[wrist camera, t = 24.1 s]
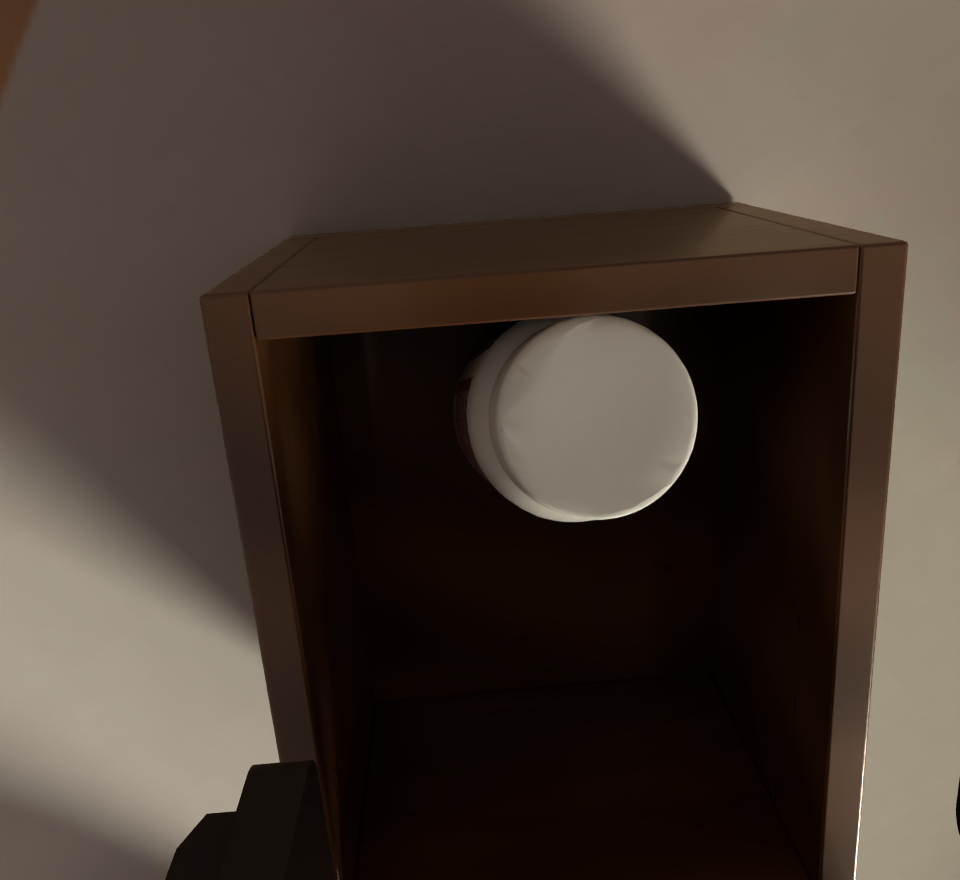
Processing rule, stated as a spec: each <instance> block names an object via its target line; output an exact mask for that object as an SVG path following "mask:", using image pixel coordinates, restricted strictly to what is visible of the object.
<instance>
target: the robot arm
mask: <svg viewBox="0 0 960 880" xmlns="http://www.w3.org/2000/svg"><path fill="white" fill-rule="evenodd" d="M956 819H957V826H958V830H959V834H960V780H959V788H958V796H957V804H956ZM165 880H333V866H332V857H331V850H330V844H329V838H328V831H327V825H326V818H325V812H324V806H323V799H322V793H321V787H320V780H319V774H318V770H317V766H316V763H315V762H314V760H306V761H294V762H282V763H270V764H258V765H252V767H251V768H250V770H249V772H248V774H247V778H246V781H245V784H244V787H243V791H242V794H241V797H240V800H239V804H238V807H237V810H236V811H235V812H223V813H211V814H206V815H205V816H204V818H203V819H202V820H201V821H200V822H199V823H198V825H197V826H196V827H195V828H194V829H193V830H192V832H191V833H190V834H189V835H188V836H187V837H186V838H185V840H184V841H183V842H182V843H181V844H180V845H179V847H178V848H177V849H176V852H175V854H174V857H173V860H172V862H171V865H170V868H169V871H168V873H167V876H166V879H165Z"/></svg>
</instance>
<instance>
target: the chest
mask: <svg viewBox="0 0 960 880" xmlns="http://www.w3.org/2000/svg"><path fill="white" fill-rule="evenodd" d="M907 252H908V243H907V242H906V241H903V240H898V239H894V238H889V237H885V236H881V235H876V234H872V233H868V232H863V231H859V230H855V229H850V228H846V227H842V226H837V225H833V224H829V223H824V222H820V221H816V220H811V219H807V218H802V217H798V216H794V215H789V214H785V213H781V212H776V211H772V210H768V209H763V208H759V207H755V206H750V205H747V204H743V203H738V202H734V203H721V204H708V205H695V206H682V207H669V208H656V209H643V210H630V211H617V212H604V213H590V214H577V215H564V216H551V217H538V218H525V219H512V220H499V221H486V222H473V223H460V224H447V225H433V226H420V227H407V228H394V229H381V230H368V231H355V232H342V233H329V234H316V235H303V236H290V237H289V238H287V239H286V240H284V241H283V242H282V243H280V244H279V245H277V246H276V247H274V248H273V249H271V250H270V251H268V252H267V253H265V254H264V255H262V256H261V257H259V258H258V259H256V260H255V261H253V262H252V263H250V264H249V265H247V266H246V267H244V268H243V269H241V270H240V271H238V272H237V273H235V274H234V275H232V276H231V277H229V278H228V279H226V280H225V281H223V282H222V283H220V284H219V285H217V286H216V287H214V288H212V289H211V290H209V291H208V292H206V293H205V294H203V295H202V296H201V297H200V305H201V311H202V316H203V322H204V328H205V334H206V340H207V345H208V351H209V357H210V363H211V368H212V374H213V380H214V386H215V391H216V397H217V403H218V409H219V415H220V420H221V426H222V432H223V438H224V443H225V449H226V455H227V461H228V466H229V472H230V478H231V484H232V490H233V495H234V501H235V507H236V513H237V518H238V524H239V530H240V536H241V541H242V547H243V553H244V559H245V565H246V570H247V576H248V582H249V588H250V593H251V599H252V605H253V611H254V616H255V622H256V628H257V634H258V640H259V645H260V651H261V657H262V663H263V668H264V674H265V680H266V686H267V691H268V697H269V703H270V709H271V715H272V720H273V726H274V732H275V738H276V743H277V749H278V755H279V761H280V763H282V762H294V761H306V760H314V762H315V763H316V766H317V770H318V774H319V780H320V787H321V793H322V799H323V806H324V812H325V818H326V825H327V831H328V838H329V844H330V850H331V857H332V866H333V880H855V879H856V867H857V855H858V843H859V831H860V819H861V807H862V795H863V783H864V771H865V759H866V747H867V734H868V722H869V710H870V698H871V686H872V674H873V662H874V650H875V638H876V626H877V614H878V602H879V590H880V578H881V566H882V554H883V542H884V530H885V517H886V505H887V493H888V481H889V469H890V457H891V445H892V433H893V421H894V409H895V397H896V385H897V373H898V361H899V349H900V337H901V325H902V313H903V301H904V288H905V276H906V264H907ZM606 313H608V314H610V315H613V316H615V317H620V318H624V319H628V320H630V321H633V322H635V323H637V324H640V325H642V326H644V327H646V328H647V329H649V330H651V331H652V332H653V333H655V334H656V335H658V336H659V337H660V338H662V339H663V340H664V341H665V342H666V343H667V344H668V345H669V346H670V347H671V348H672V349H673V350H674V352H675V353H676V354H677V356H678V357H679V358H680V360H681V362H682V363H683V365H684V366H685V368H686V370H687V372H688V374H689V376H690V379H691V381H692V384H693V387H694V391H695V395H696V401H697V409H698V422H697V432H696V438H695V442H694V447H693V450H692V452H691V455H690V457H689V460H688V462H687V464H686V466H685V467H684V469H683V471H682V473H681V474H680V476H679V477H678V478H677V480H676V481H675V482H674V483H673V485H672V486H671V487H670V488H669V489H668V490H667V491H666V492H665V493H664V494H663V495H662V496H661V497H659V498H658V499H657V500H655V501H654V502H653V503H651V504H650V505H648V506H646V507H645V508H643V509H641V510H638V511H636V512H634V513H631V514H629V515H625V516H622V517H618V518H613V519H604V520H592V521H583V522H560V521H554V520H550V519H544V518H541V517H538V516H536V515H533V514H531V513H529V512H527V511H525V510H523V509H521V508H520V507H518V506H517V505H515V504H514V503H513V502H511V501H510V500H508V499H506V498H505V497H504V496H503V495H502V494H501V493H499V492H498V491H497V490H496V489H495V488H494V487H493V486H492V485H491V484H490V483H489V482H488V481H487V480H486V479H485V478H483V477H482V476H481V475H480V474H479V473H478V472H477V471H476V470H475V468H474V467H473V466H472V465H471V464H470V462H469V461H468V459H467V458H466V456H465V455H464V453H463V451H462V449H461V447H460V445H459V442H458V440H457V437H456V434H455V429H454V423H453V401H454V396H455V391H456V387H457V384H458V382H459V379H460V377H461V375H462V373H463V371H464V369H465V367H466V366H467V364H468V363H469V362H470V360H471V359H472V358H473V356H474V355H475V354H476V353H477V352H478V351H479V350H480V349H481V348H483V347H484V346H485V345H486V344H488V343H489V342H490V341H492V340H493V339H495V338H496V337H498V336H499V335H500V334H502V333H503V332H505V331H506V330H507V329H508V328H509V327H511V326H512V325H513V324H515V323H516V322H518V321H521V320H529V319H541V318H554V317H567V316H580V315H593V314H606Z"/></svg>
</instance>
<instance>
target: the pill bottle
mask: <svg viewBox="0 0 960 880" xmlns="http://www.w3.org/2000/svg"><path fill="white" fill-rule="evenodd" d="M697 422H698V409H697V401H696V395H695V391H694V387H693V384H692V381H691V379H690V376H689V374H688V372H687V370H686V368H685V366H684V365H683V363H682V362H681V360H680V358H679V357H678V356H677V354H676V353H675V352H674V350H673V349H672V348H671V347H670V346H669V345H668V344H667V343H666V342H665V341H664V340H663V339H662V338H660V337H659V336H658V335H656V334H655V333H653V332H652V331H651V330H649V329H647V328H646V327H644V326H642V325H640V324H637V323H635V322H633V321H630V320H628V319H624V318H620V317H615V316H613V315H610V314H608V313H606V314H593V315H580V316H567V317H554V318H541V319H529V320H521V321H518V322H516V323H515V324H513V325H512V326H511V327H509V328H508V329H507V330H506V331H505V332H503V333H502V334H500V335H499V336H498V337H496V338H495V339H493V340H492V341H490V342H489V343H488V344H486V345H485V346H484V347H483V348H481V349H480V350H479V351H478V352H477V353H476V354H475V355H474V356H473V358H472V359H471V360H470V362H469V363H468V364H467V366H466V367H465V369H464V371H463V373H462V375H461V377H460V379H459V382H458V384H457V387H456V391H455V396H454V401H453V423H454V429H455V434H456V437H457V440H458V442H459V445H460V447H461V449H462V451H463V453H464V455H465V456H466V458H467V459H468V461H469V462H470V464H471V465H472V466H473V467H474V468H475V470H476V471H477V472H478V473H479V474H480V475H481V476H482V477H483V478H485V479H486V480H487V481H488V482H489V483H490V484H491V485H492V486H493V487H494V488H495V489H496V490H497V491H498V492H499V493H501V494H502V495H503V496H504V497H505V498H506V499H508V500H510V501H511V502H513V503H514V504H515V505H517V506H518V507H520V508H521V509H523V510H525V511H527V512H529V513H531V514H533V515H536V516H538V517H541V518H544V519H550V520H554V521H560V522H583V521H592V520H604V519H613V518H618V517H622V516H625V515H629V514H631V513H634V512H636V511H638V510H641V509H643V508H645V507H646V506H648V505H650V504H651V503H653V502H654V501H655V500H657V499H658V498H659V497H661V496H662V495H663V494H664V493H665V492H666V491H667V490H668V489H669V488H670V487H671V486H672V485H673V483H674V482H675V481H676V480H677V478H678V477H679V476H680V474H681V473H682V471H683V469H684V467H685V466H686V464H687V462H688V460H689V457H690V455H691V452H692V450H693V447H694V442H695V438H696V432H697Z"/></svg>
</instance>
